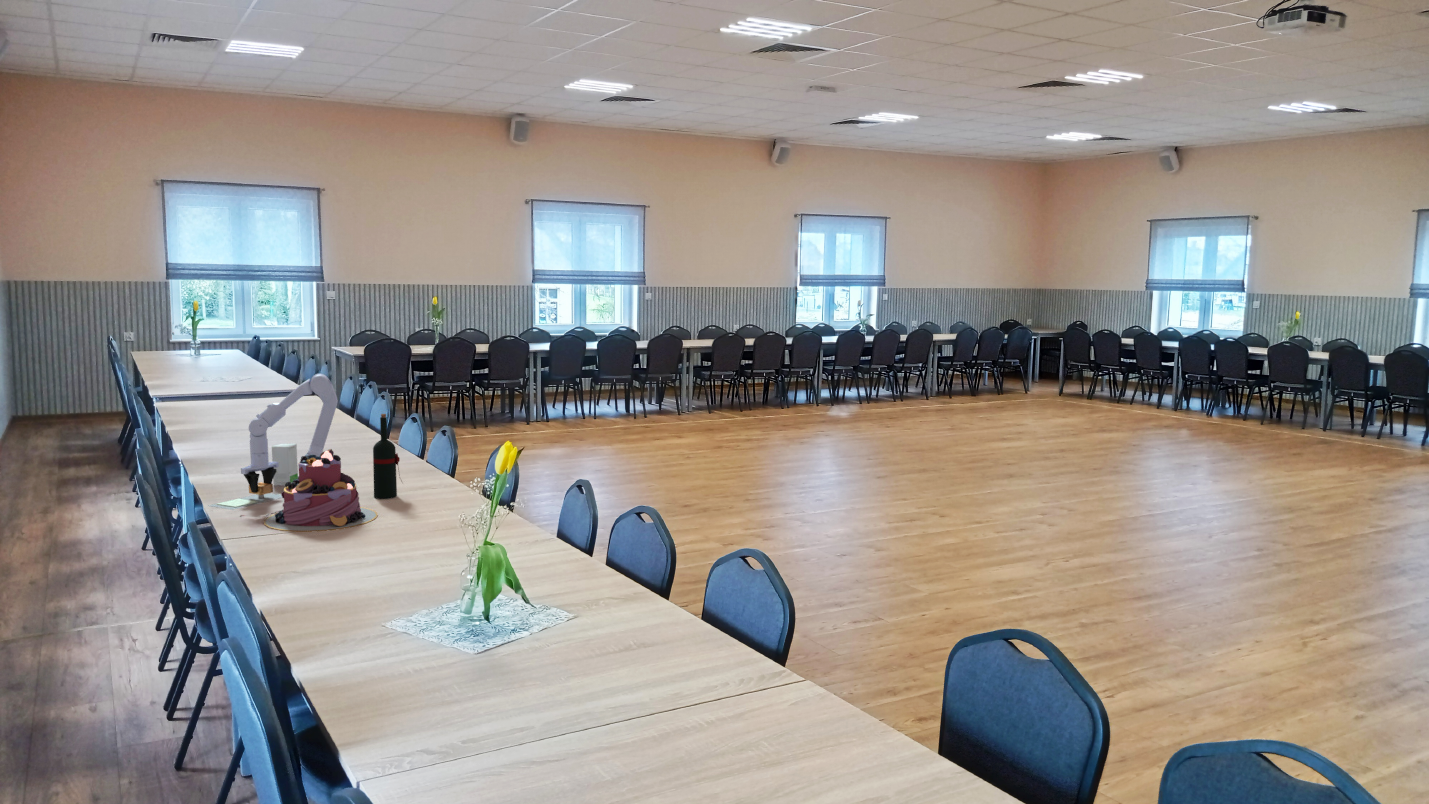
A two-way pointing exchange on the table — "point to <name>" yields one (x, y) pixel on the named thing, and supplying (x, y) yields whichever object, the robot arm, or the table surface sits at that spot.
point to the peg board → (247, 501)
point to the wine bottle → (385, 465)
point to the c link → (263, 488)
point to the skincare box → (285, 463)
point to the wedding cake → (320, 498)
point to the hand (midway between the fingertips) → (261, 490)
